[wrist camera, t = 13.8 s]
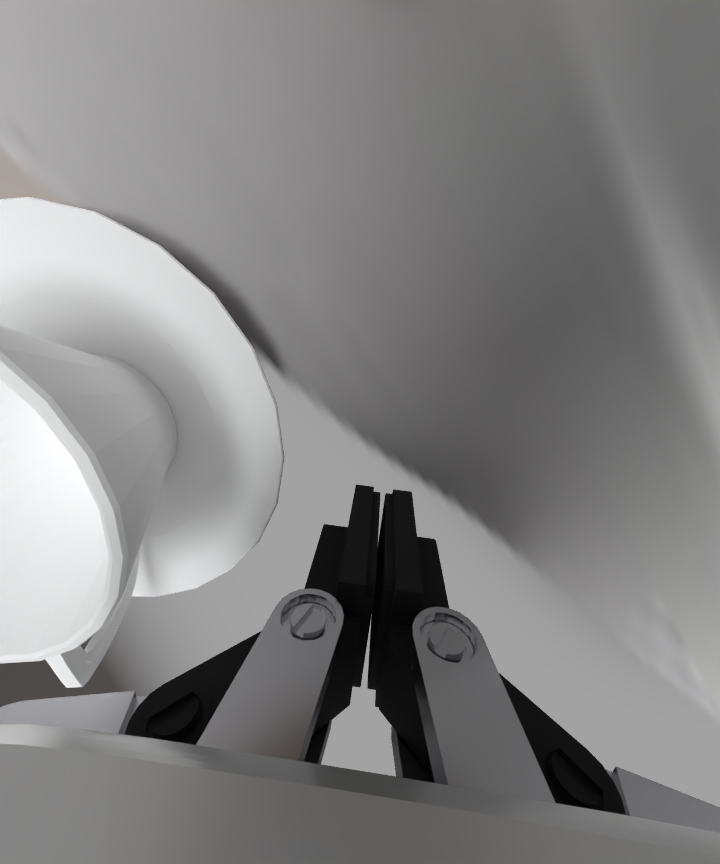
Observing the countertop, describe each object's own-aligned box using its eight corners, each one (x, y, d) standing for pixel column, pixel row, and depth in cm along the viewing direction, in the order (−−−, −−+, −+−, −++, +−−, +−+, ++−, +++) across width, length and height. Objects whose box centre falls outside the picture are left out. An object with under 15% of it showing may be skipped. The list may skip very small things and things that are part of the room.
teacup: (83, 599, 15) (-75, 753, 10) (-147, 313, 11) (-582, 324, 6) (352, 519, 12) (326, 669, 7) (167, 122, 9) (-129, -114, 4)
